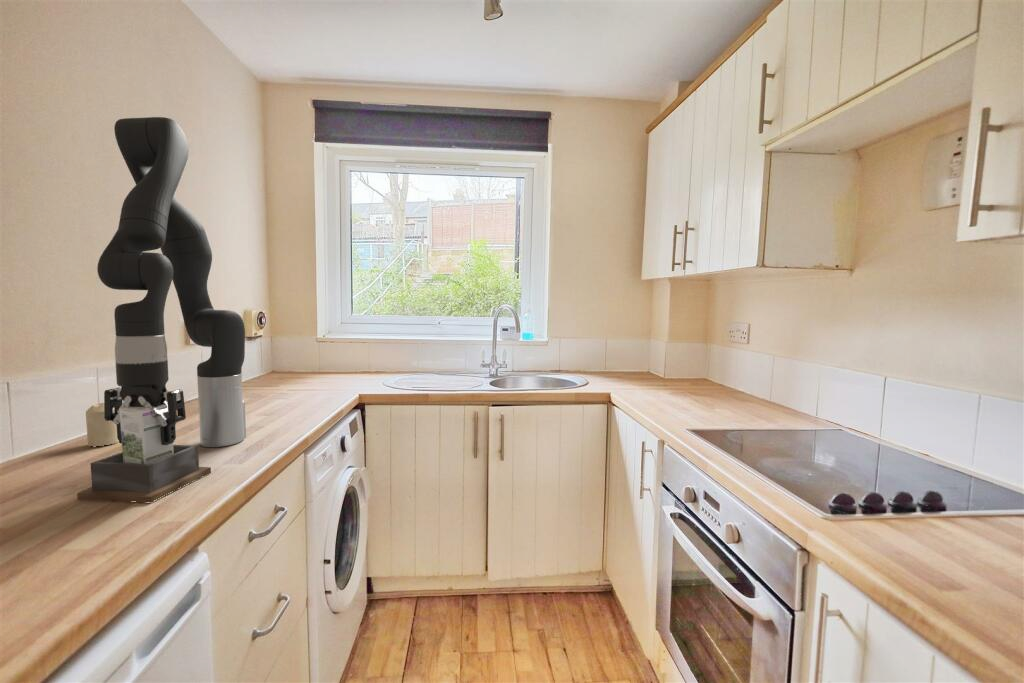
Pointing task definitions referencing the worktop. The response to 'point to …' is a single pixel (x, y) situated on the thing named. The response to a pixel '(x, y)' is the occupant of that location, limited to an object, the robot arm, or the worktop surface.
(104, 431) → the candle
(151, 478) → the holder
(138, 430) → the syrup box
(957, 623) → the worktop surface
